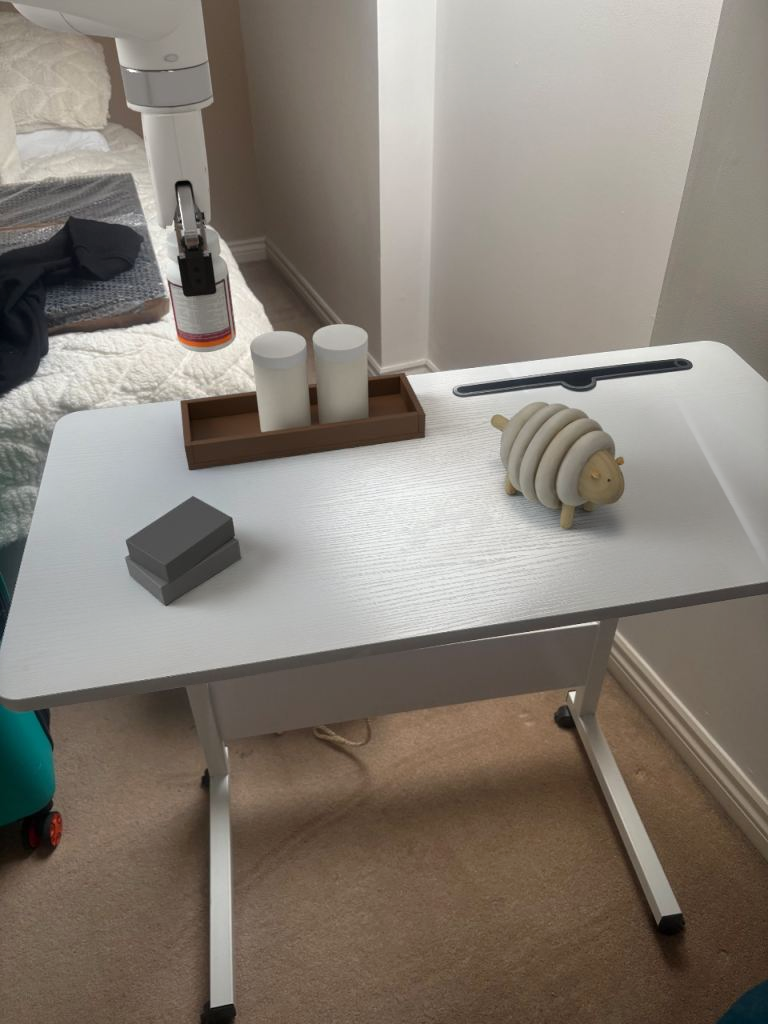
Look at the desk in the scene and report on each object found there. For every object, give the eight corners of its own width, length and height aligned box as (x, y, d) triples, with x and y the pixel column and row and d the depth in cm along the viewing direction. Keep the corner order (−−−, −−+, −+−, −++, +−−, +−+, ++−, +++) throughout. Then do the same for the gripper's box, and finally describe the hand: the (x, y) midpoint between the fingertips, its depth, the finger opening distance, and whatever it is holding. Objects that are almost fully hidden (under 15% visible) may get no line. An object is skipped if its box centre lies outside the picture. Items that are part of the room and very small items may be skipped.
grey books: (166, 607, 77) (157, 569, 74) (128, 574, 80) (117, 537, 77) (243, 558, 82) (238, 521, 79) (204, 529, 86) (197, 492, 83)
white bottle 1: (270, 447, 96) (261, 362, 88) (252, 420, 100) (242, 338, 93) (320, 433, 98) (314, 349, 91) (300, 408, 102) (293, 326, 95)
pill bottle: (196, 323, 91) (179, 221, 84) (246, 331, 90) (234, 228, 83) (167, 349, 87) (147, 243, 80) (220, 358, 85) (204, 251, 78)
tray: (188, 470, 93) (184, 446, 91) (184, 423, 101) (180, 400, 99) (424, 437, 98) (425, 413, 96) (404, 395, 106) (404, 372, 104)
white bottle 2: (330, 438, 97) (325, 354, 90) (310, 413, 101) (304, 330, 94) (378, 425, 99) (377, 342, 92) (356, 400, 103) (353, 319, 96)
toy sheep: (584, 559, 82) (603, 469, 75) (454, 486, 91) (459, 400, 84) (640, 510, 88) (663, 422, 81) (512, 446, 97) (522, 362, 90)
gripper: (124, 66, 78) (158, 251, 90) (123, 113, 66) (163, 322, 77) (204, 62, 80) (227, 244, 91) (219, 107, 67) (244, 313, 78)
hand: (197, 278), depth 84 cm, fingers closed on pill bottle, 6 cm apart
